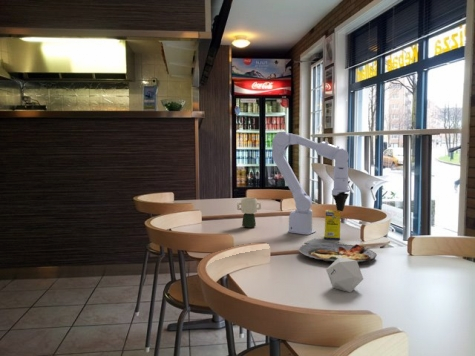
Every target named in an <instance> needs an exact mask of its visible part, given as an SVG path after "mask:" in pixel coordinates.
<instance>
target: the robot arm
mask: <svg viewBox="0 0 475 356" xmlns="http://www.w3.org/2000/svg"><path fill="white" fill-rule="evenodd" d="M271 142H272V148H271V149H272V150H271V151H272V153H271V157H272V160H273V161H274V163H275V165H276V166H277V168H278V171H279V172H280V175H281V176H282V178H283V180H284V181H285V183H286V185H287V187H288V189H289V190H290V192H291V194H292V198H293V200H294V203H295V208H296V209H295V210H292V211H291V212H289V216H288V231H287V232H288V233H292V234H300V235H306V236H307V235H308V236H309V235H311V234H314V233H316V232H317V231H316V230H313V211H314V210H312V209H311V207H313V199H312V197H311V196H310V195H308V194H307V193H306V191H305V189H304V188H303V187H302V185H301V183H300V182H299V180H298V177H297V176H296V174H295V173H294V170H293V169H292V167H291V166H290V164H289V162H288V160H287V159H286V157H285V155H286V151H287V149H288V148H289V146H291V145H299V146H303V147H305V148H309V149H311V150H314V151H315V152H316V154H317V155H318V156H321V157H324V158H326V159H329V160H331V161H332V160H334V168H333V188H332V190H331V195H332V198H333V201H334V202H335V207H336V210H338V211H340V212H343V211H344V209H345V205H346V202H347V199H348V197H349V196H350V192H351V190H352V189H350V187H349V167H348V166H349V161H348V160H349V158H350V156H349V152H348V151H347V150H346V149H344V148H340V146H339V145H337V146H336V145H333V144H330V143H329V141H320V142H315V141H313V140H311V139H309V138H307V137H303V136H301V135H299V134H296V133H295V134H293V133H289V132H286V131H278V132H277V133H275V135H274V137H273V139H272V141H271Z"/></svg>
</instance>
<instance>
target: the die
mask: <svg viewBox="0 0 475 356" xmlns="http://www.w3.org/2000/svg"><path fill="white" fill-rule="evenodd" d="M325 271H326V274H327V276H328V279H329V282H330V284H331V286H332V288H333V289H335V290H339V291H344V292H347V293H351V292H352V291H354V289H356V287H357V286H358V285H360V284H361V282H363V280H364V277H363V274H362V272H361V268H360V266H359V262H357V261H356V260H351V259H346V258H342V257H339V258H338V259H337V260H336V261H332V263H331V264H330V265H329V266H328V267H327V268H326V270H325Z"/></svg>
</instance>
